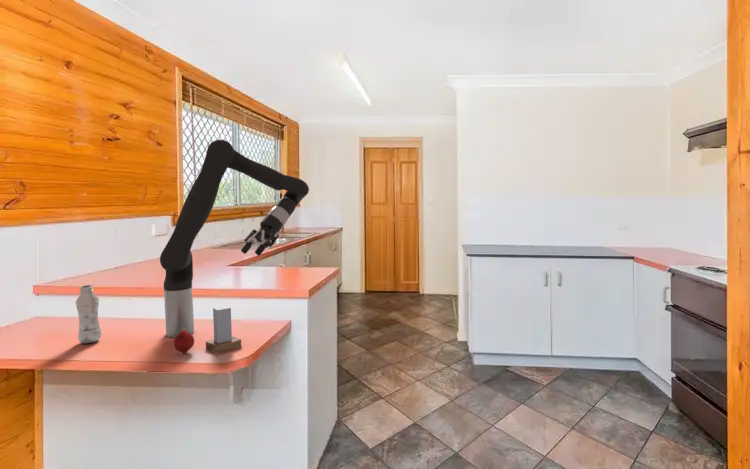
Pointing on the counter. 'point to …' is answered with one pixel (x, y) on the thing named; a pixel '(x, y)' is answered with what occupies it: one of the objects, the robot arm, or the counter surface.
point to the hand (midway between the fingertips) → (249, 253)
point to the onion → (183, 341)
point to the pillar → (222, 324)
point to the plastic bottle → (88, 315)
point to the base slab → (223, 345)
